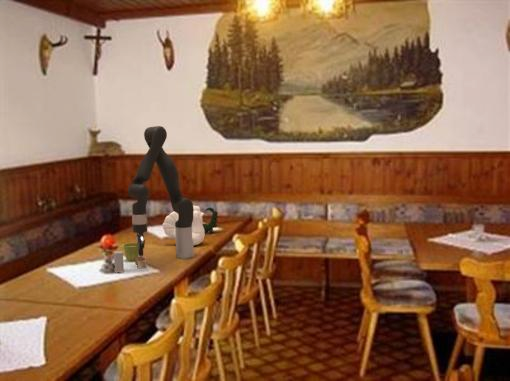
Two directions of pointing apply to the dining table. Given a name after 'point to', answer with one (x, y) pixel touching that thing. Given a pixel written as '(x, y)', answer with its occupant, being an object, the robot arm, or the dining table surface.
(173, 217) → the decorative rooster
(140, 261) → the walnut block
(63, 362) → the dining table surface
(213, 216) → the toy figurine
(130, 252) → the plant pot
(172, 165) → the robot arm
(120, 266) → the slate-grey block
